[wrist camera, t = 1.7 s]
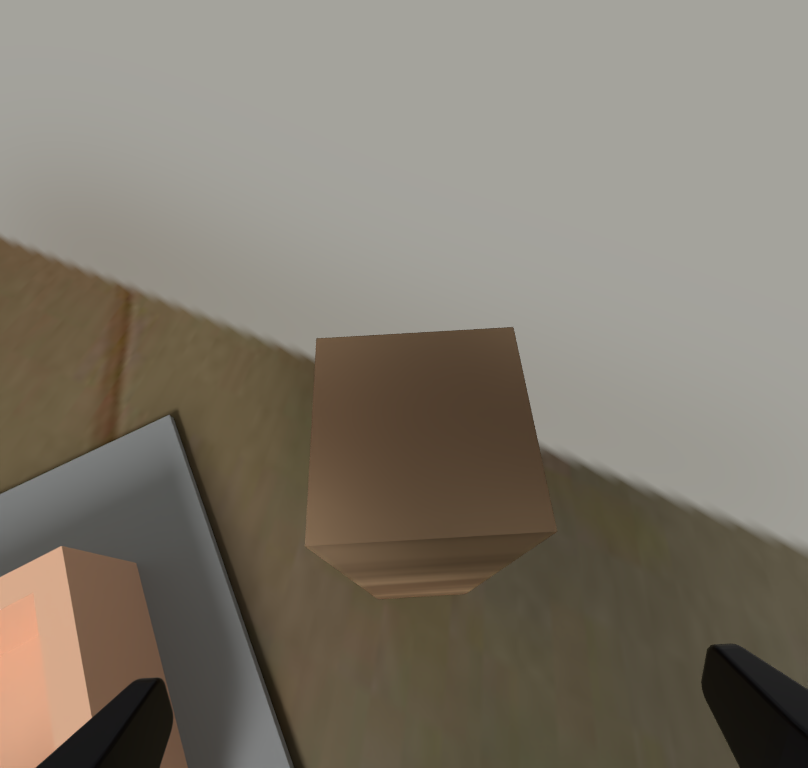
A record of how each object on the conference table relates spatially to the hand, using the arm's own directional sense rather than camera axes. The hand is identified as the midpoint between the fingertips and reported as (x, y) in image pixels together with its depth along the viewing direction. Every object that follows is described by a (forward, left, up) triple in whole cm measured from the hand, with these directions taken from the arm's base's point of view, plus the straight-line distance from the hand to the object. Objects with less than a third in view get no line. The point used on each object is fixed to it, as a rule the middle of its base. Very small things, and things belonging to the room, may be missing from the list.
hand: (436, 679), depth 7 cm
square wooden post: (+3, -2, -11) cm, 11 cm away
